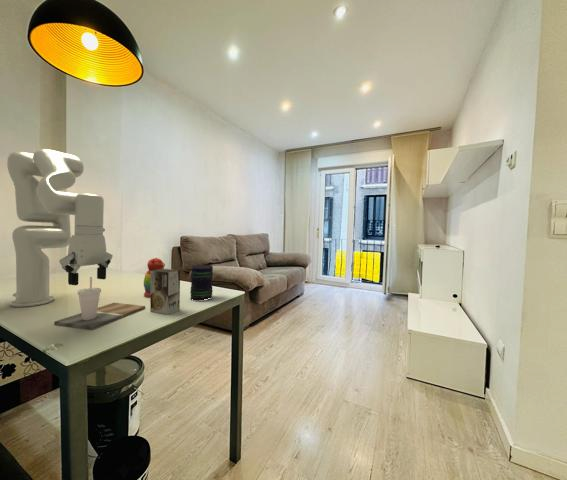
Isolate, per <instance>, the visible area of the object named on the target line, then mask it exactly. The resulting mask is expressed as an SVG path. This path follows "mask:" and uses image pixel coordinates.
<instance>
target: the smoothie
mask: <svg viewBox="0 0 567 480" xmlns="http://www.w3.org/2000/svg"><path fill="white" fill-rule="evenodd" d="M76 293H77V295H78V299H79V306H80V313H82V319H83V320H90V319H94V318H96V315H97V309H98V308H99V301H100V297H101V293H102V288H100V287H93V277H92V276H90V277H89V287H88V288H87V287H86V288H82V289H78V290H77V292H76Z"/></svg>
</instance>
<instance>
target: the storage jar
mask: <svg viewBox="0 0 567 480" xmlns="http://www.w3.org/2000/svg"><path fill="white" fill-rule="evenodd" d="M213 268H214V266H213V265H207V264H199V265H192V266H190V280H191V281H190V286H191V287H190V292H189V293H190V300H191V299H193V300H204V299H208V298H211V297H212V298H213V278H214V277H213V275H214V273H213V270H214V269H213Z"/></svg>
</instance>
